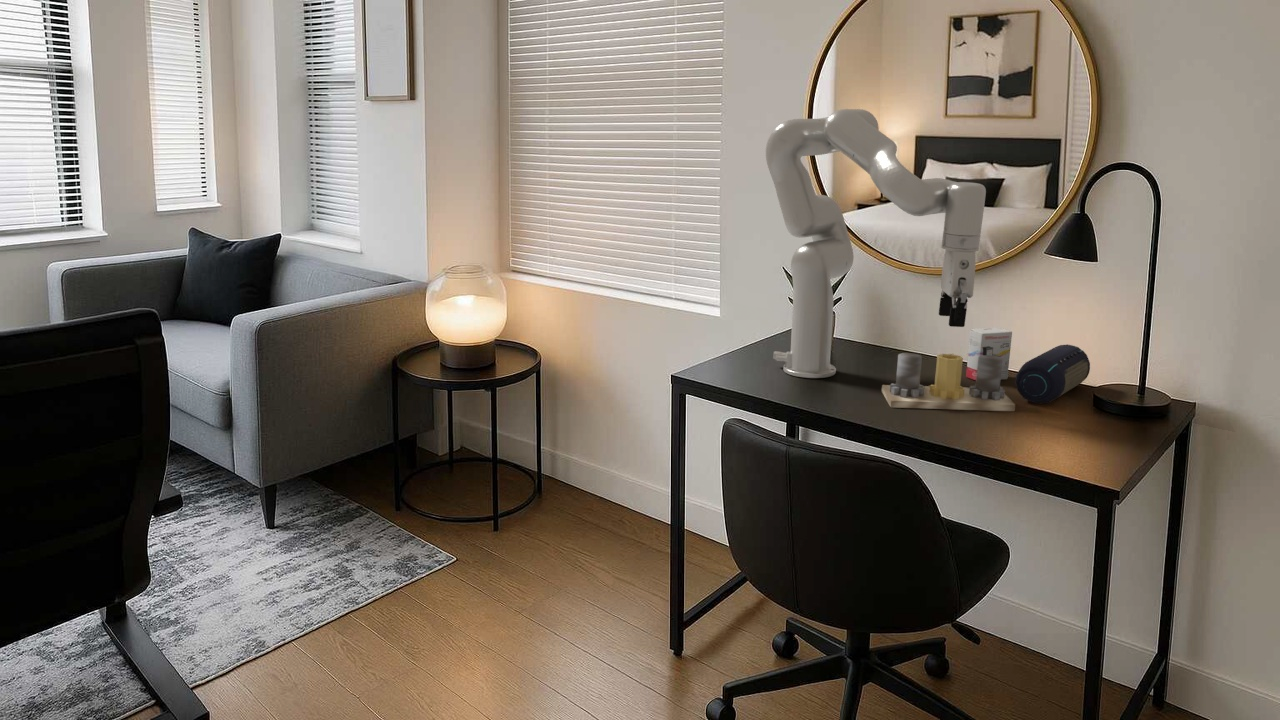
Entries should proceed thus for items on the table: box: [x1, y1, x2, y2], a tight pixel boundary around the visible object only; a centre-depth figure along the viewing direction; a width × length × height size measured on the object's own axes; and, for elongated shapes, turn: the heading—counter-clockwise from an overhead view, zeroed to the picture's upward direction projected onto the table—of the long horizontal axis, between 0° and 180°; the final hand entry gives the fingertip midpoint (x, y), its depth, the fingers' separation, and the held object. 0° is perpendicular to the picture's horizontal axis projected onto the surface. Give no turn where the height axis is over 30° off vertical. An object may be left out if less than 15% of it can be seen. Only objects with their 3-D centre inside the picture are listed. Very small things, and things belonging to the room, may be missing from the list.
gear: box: [929, 353, 965, 399], centre depth 212 cm, size 7×7×8 cm
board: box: [881, 352, 1016, 412], centre depth 212 cm, size 26×12×10 cm, turn 85°
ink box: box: [965, 327, 1013, 381], centre depth 230 cm, size 9×5×12 cm, turn 107°
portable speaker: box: [1015, 343, 1091, 404], centre depth 219 cm, size 25×10×10 cm, turn 139°
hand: (951, 320), depth 209 cm, fingers open, 9 cm apart
